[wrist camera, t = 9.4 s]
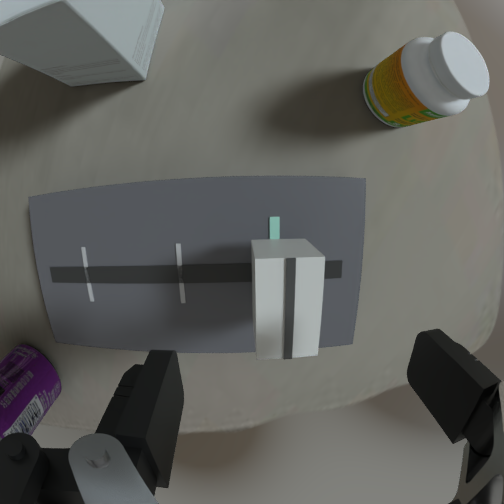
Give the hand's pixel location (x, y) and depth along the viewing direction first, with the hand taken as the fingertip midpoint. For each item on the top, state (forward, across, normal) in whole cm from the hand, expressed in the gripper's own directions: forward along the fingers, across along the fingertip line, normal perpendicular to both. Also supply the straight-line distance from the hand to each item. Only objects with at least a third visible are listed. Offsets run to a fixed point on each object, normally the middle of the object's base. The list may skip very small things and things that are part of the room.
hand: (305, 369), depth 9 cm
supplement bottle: (+14, -10, -13) cm, 21 cm away
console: (+14, +6, 0) cm, 15 cm away
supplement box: (+14, +12, -18) cm, 25 cm away
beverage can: (+14, +25, +12) cm, 31 cm away
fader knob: (+10, 0, 0) cm, 10 cm away
